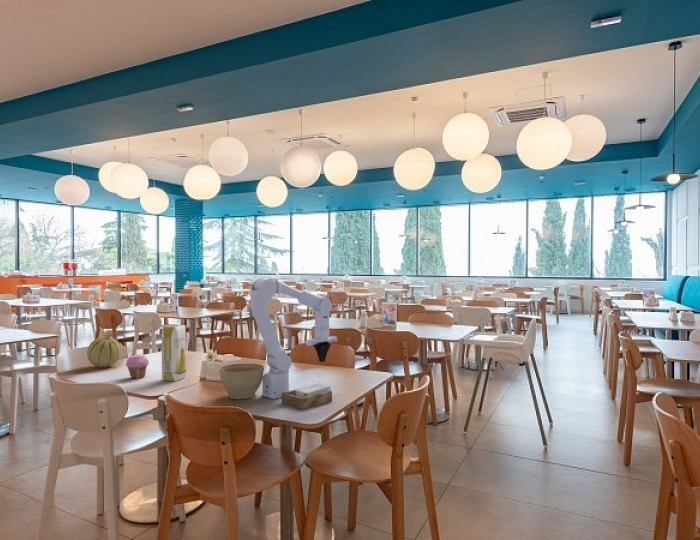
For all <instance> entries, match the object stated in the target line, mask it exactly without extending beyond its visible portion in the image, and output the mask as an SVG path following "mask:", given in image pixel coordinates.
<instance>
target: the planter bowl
mask: <svg viewBox="0 0 700 540" xmlns="http://www.w3.org/2000/svg"><path fill="white" fill-rule="evenodd" d="M264 371H265V366H264V365H263V364H261V363H251V362H250V363H245V362H244V363H243V362H242V363H232V364H231V363H230V364H226V365H222V366H221V367H219V373H220V374H219V375H220V381H221V385H222V387H223V388H224V390H225V391H226V393H228V394H227V395H228V398H230V399H232V400H233V399H234V400H246V399H251V398H254V397H255V396H256V392H257V391H258V389H259V388H260V387H261V384H262V383H263V376H264Z"/></svg>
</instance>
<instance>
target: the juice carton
mask: <svg viewBox="0 0 700 540" xmlns="http://www.w3.org/2000/svg"><path fill="white" fill-rule="evenodd" d="M186 342H187V341H186V325H185V324H181V323H180V322H174V323H173V324H171V325H167V326H162V327H161V380H162V381H163V382H164V381H166V382H168V381H169V382H178V381H180V380H182V379H184V378H186V372H187V363H186V362H187V361H186V360H187V359H186V358H187V357H186V354H187V351H186V349H187V348H186V346H187V345H186V344H187V343H186Z"/></svg>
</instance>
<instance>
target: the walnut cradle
mask: <svg viewBox="0 0 700 540" xmlns="http://www.w3.org/2000/svg"><path fill="white" fill-rule="evenodd" d="M305 387H306V386H305ZM305 387H303V388H305ZM301 388H302V387H300V388H297V389H296V388H295V389H292V390H289V391H287V392H283V393H282V397H281V404H284V405H285V406H289V407H292V408H295V409H298V410H305V409H309V408H312V407H317V406H319V405H323V404H327V403H331V402H333V391H332V390H331V391H327V392H323V393H319V394H315V395H311V396H307V397H303V398H301V397H297V396H296V390H298V389H301Z"/></svg>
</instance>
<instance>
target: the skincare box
mask: <svg viewBox="0 0 700 540" xmlns="http://www.w3.org/2000/svg"><path fill="white" fill-rule="evenodd" d="M300 388H301V389H300ZM300 388H297V389H298V390H296V389H295V390H296V396H297V397H301V398H303V397H307V396H311V395H315V394H319V393H323V392H327V391H332V390H331V389H332V388H331V385H327V384H325V383H320V382H319V383H316V384H312V385H309V386H305V388H304V387H300Z"/></svg>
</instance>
